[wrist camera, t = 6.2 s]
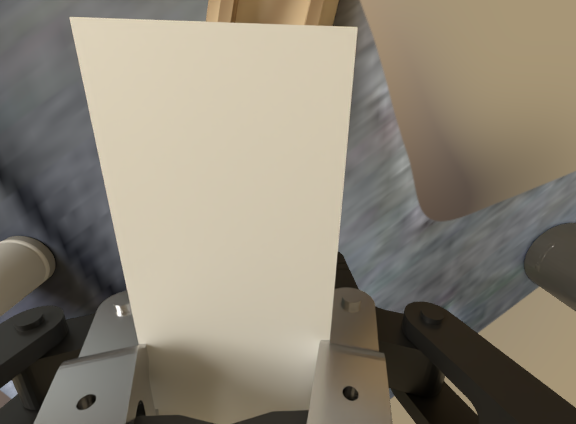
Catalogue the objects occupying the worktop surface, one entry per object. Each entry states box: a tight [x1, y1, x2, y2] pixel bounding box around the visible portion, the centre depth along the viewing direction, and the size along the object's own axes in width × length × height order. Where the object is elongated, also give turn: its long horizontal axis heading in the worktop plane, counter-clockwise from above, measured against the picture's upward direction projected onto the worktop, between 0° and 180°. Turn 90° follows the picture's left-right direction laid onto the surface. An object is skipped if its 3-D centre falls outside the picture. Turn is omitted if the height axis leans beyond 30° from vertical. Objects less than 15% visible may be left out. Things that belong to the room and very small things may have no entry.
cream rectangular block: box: [70, 17, 358, 424], centre depth 10 cm, size 4×14×8 cm, turn 179°
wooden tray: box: [206, 0, 339, 26], centre depth 27 cm, size 11×22×4 cm, turn 166°
